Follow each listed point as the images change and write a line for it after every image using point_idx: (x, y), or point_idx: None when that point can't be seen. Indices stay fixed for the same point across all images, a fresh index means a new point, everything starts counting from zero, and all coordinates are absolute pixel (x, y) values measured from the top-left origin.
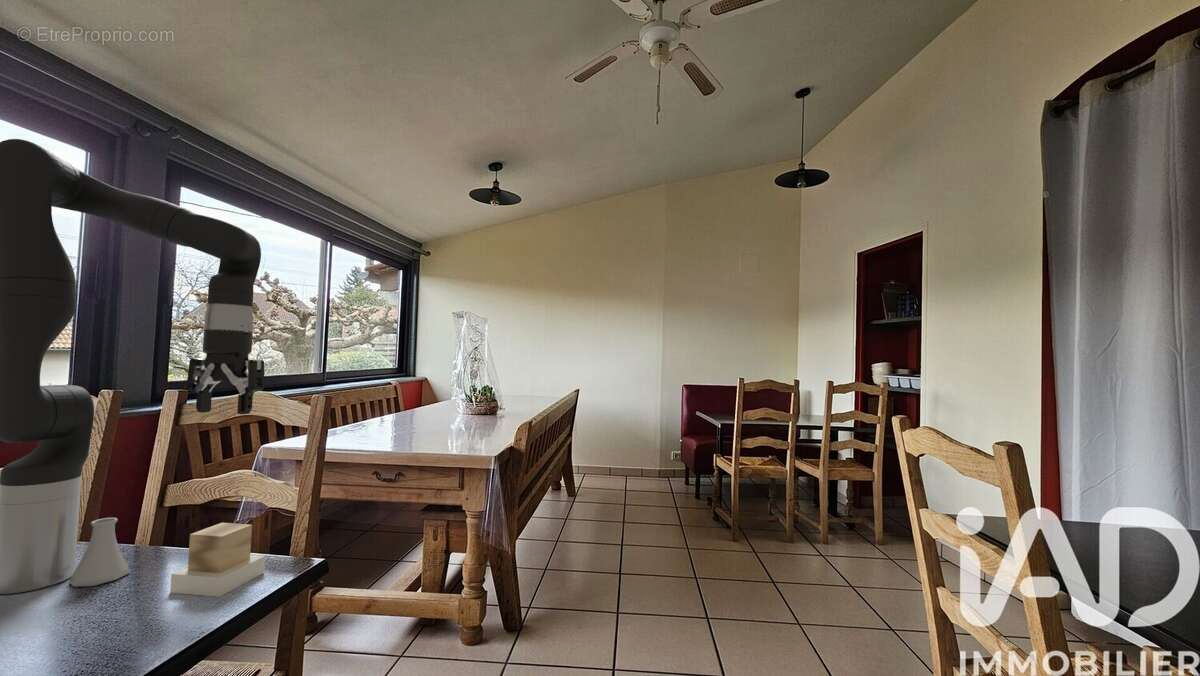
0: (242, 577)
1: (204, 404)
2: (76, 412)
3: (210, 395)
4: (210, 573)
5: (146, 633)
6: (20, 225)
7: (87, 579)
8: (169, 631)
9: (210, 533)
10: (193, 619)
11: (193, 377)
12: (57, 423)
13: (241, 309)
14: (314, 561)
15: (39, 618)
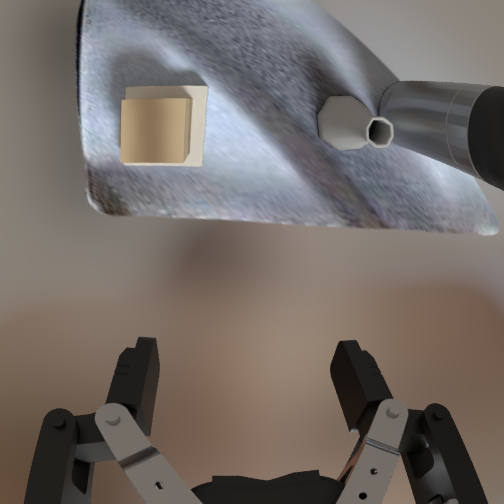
0: None
1: (345, 373)
2: None
3: (348, 419)
4: (151, 95)
5: (146, 5)
6: None
7: (341, 98)
8: (124, 13)
9: (153, 108)
10: (119, 38)
11: (439, 454)
12: None
13: None
14: (95, 206)
15: (307, 21)
